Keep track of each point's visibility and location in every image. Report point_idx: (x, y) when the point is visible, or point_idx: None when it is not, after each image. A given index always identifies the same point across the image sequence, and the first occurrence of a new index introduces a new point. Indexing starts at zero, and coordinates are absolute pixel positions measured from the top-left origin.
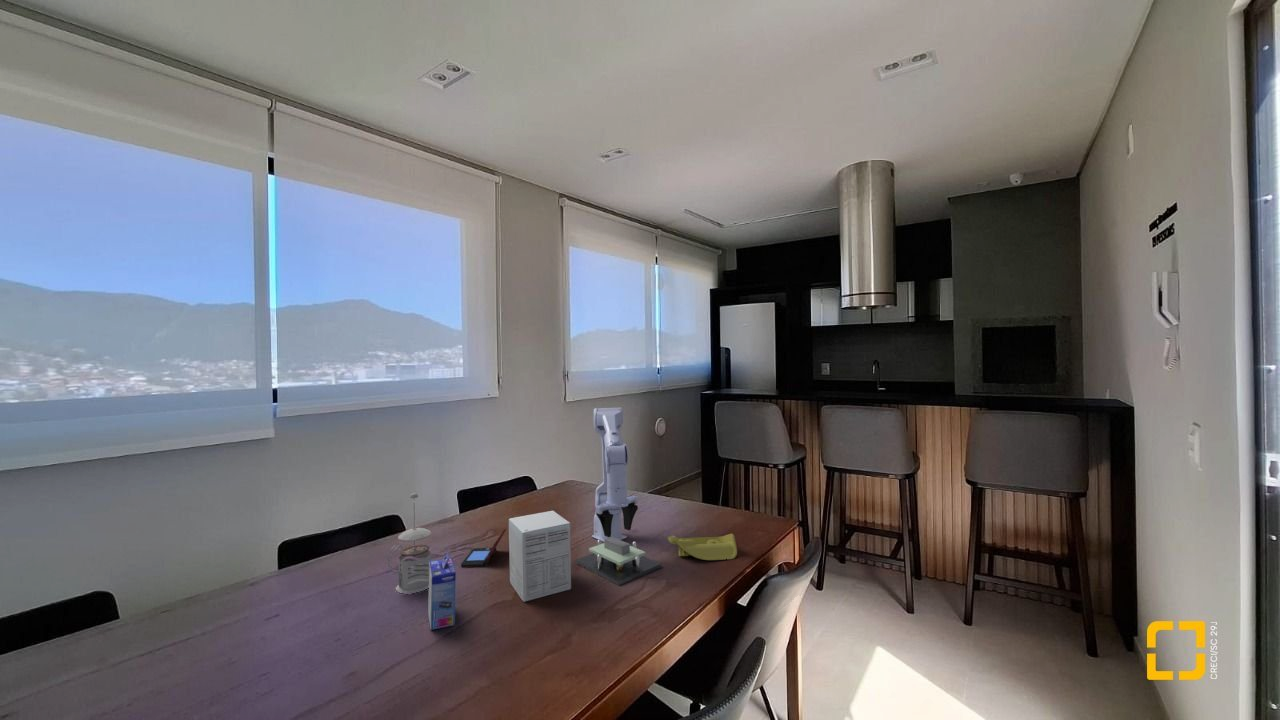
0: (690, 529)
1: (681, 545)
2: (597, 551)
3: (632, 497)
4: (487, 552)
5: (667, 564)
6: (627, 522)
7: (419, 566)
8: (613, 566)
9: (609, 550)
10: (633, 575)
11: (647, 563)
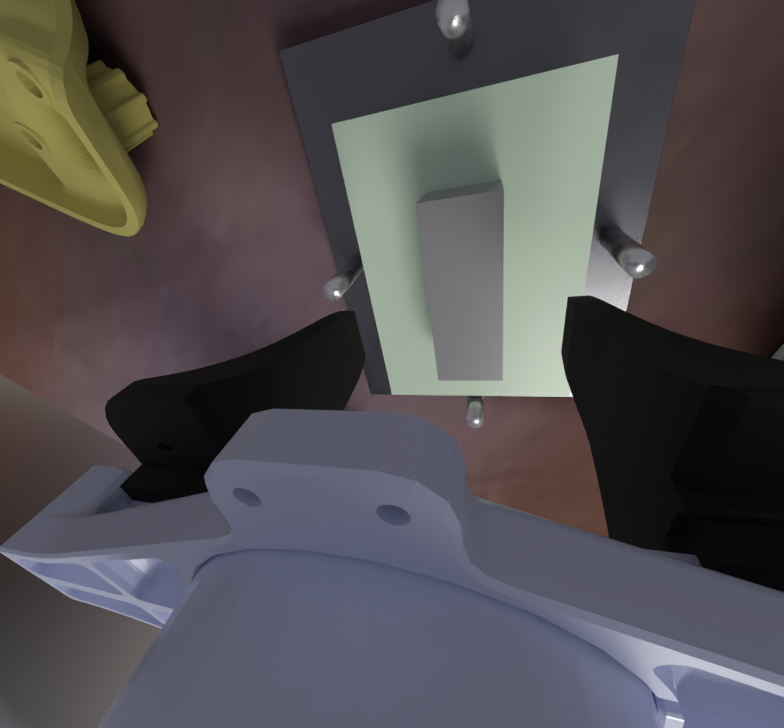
0: (75, 338)
1: (61, 19)
2: None
3: (79, 583)
4: None
5: (244, 72)
6: (334, 359)
7: None
8: None
9: (506, 305)
10: None
11: (349, 117)
